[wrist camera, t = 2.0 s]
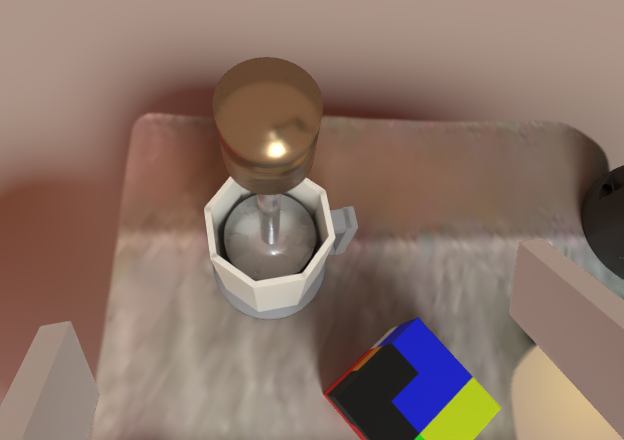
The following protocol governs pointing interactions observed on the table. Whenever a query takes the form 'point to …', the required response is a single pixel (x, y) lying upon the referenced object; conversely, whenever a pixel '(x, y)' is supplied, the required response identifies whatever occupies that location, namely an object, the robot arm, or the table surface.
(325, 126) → the table surface
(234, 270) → the jug
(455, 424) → the puzzle toy
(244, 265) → the plunger
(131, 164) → the table surface
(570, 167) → the table surface
